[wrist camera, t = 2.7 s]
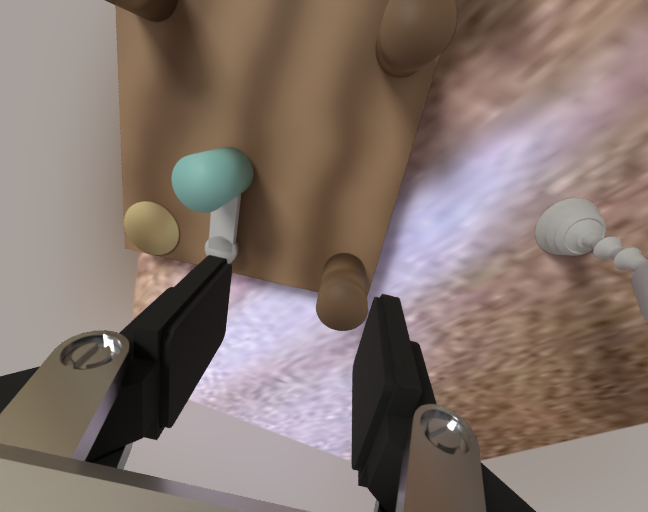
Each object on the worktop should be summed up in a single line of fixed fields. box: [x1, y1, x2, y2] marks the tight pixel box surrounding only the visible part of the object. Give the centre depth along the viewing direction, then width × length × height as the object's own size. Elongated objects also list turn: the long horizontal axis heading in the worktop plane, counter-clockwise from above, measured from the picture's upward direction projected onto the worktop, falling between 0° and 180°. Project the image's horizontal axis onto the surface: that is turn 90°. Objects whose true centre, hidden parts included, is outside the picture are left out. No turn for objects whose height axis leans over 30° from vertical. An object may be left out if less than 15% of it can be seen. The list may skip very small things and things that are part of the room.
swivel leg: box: [172, 147, 254, 264], centre depth 24 cm, size 4×10×6 cm, turn 168°
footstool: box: [106, 0, 457, 331], centre depth 24 cm, size 22×22×8 cm
